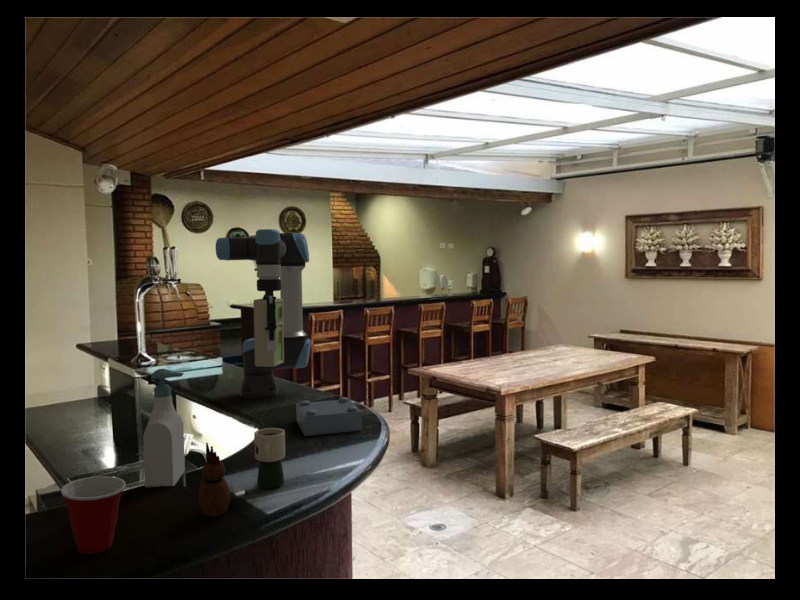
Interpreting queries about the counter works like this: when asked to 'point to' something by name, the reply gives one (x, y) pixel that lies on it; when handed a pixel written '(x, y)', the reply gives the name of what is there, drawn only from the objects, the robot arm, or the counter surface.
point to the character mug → (270, 456)
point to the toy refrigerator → (260, 334)
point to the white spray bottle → (163, 437)
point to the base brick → (328, 416)
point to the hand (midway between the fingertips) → (270, 348)
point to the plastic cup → (93, 511)
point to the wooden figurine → (213, 486)
